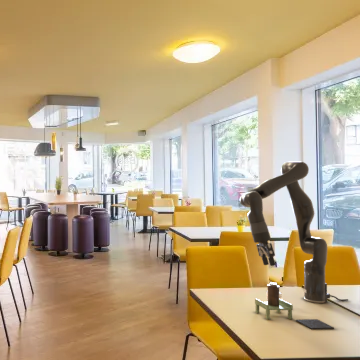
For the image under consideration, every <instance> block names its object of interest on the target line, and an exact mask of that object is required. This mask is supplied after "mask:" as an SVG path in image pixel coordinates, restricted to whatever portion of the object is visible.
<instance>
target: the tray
mask: <svg viewBox="0 0 360 360" xmlns="http://www.w3.org/2000/svg"><path fill="white" fill-rule="evenodd" d="M254 305H255V313H256V314H260V308H262V309H264V310H265V319H266V320H271V311H276V313H278V314H281V312H282V311H287V319H288V320H293V310H294V304H292V303H290V302H288V301H286V300H284V299H283V298H281V299H280V298H279V306H277V307H275V306H270V305H268V302H267V301H262V300H260V299H258V298H254Z"/></svg>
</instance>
